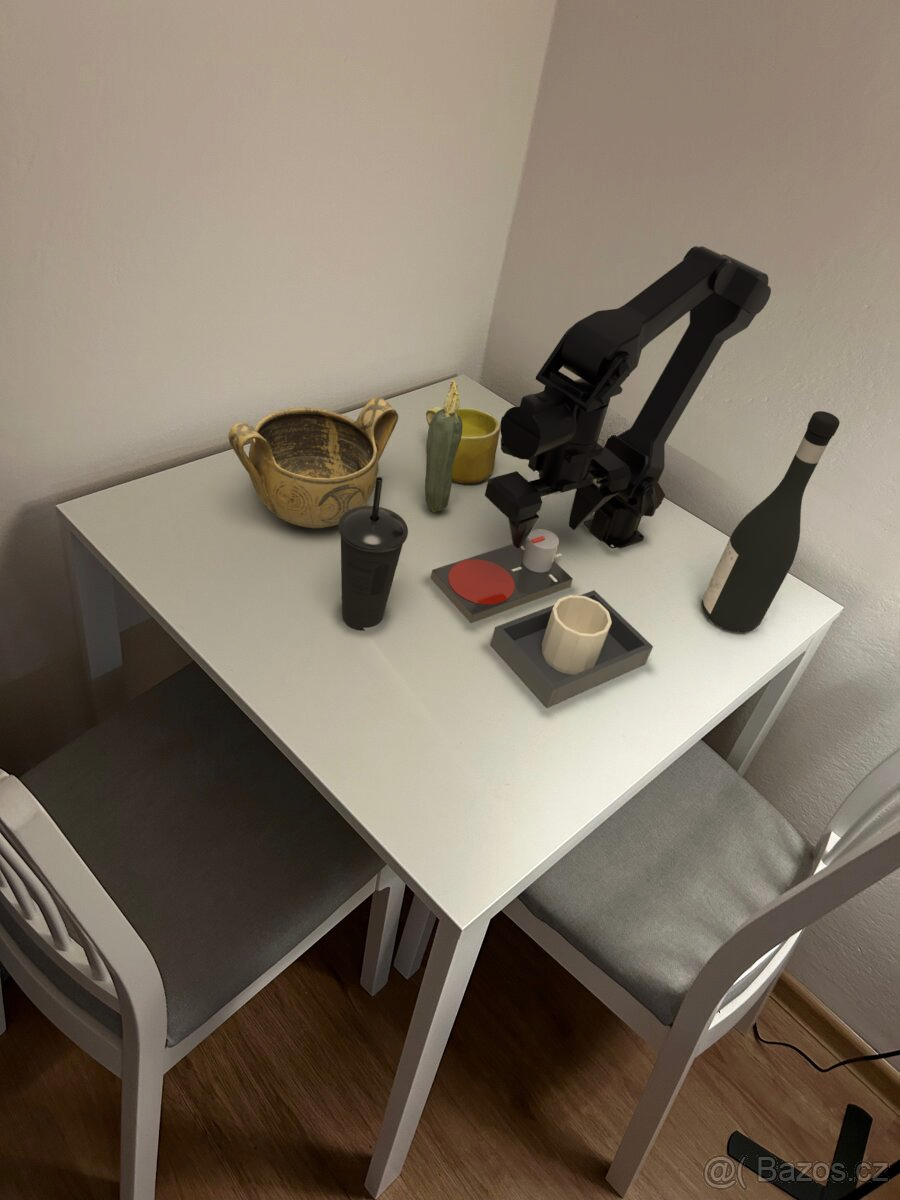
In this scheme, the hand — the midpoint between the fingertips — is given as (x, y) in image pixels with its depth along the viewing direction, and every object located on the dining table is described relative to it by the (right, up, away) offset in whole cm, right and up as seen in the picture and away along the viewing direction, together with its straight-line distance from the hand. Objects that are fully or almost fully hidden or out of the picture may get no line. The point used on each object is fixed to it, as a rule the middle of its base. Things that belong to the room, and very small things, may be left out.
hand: (544, 536), depth 114 cm
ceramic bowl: (-31, +4, +7) cm, 32 cm away
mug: (-11, +12, +21) cm, 27 cm away
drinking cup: (-22, -10, -7) cm, 26 cm away
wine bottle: (+25, -10, +4) cm, 27 cm away
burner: (-8, -6, -2) cm, 10 cm away
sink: (+2, -15, -7) cm, 16 cm away
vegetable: (-15, +4, +11) cm, 19 cm away
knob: (-1, -3, +3) cm, 4 cm away
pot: (+2, -15, -7) cm, 16 cm away
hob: (-5, -6, +1) cm, 8 cm away
